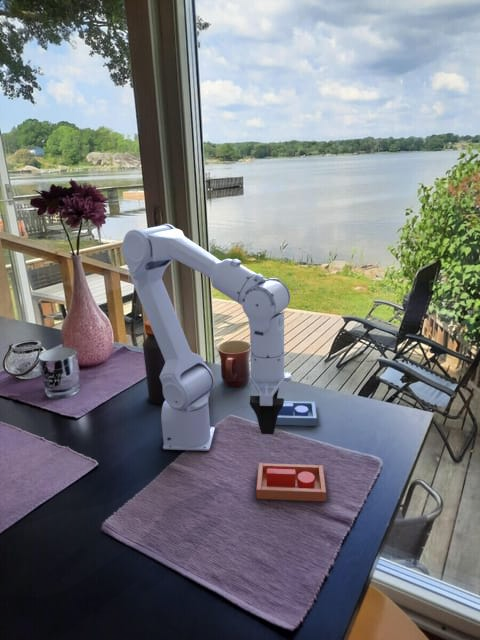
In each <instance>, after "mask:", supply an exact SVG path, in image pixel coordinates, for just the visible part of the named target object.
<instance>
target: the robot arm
mask: <svg viewBox="0 0 480 640" xmlns="http://www.w3.org/2000/svg"><path fill="white" fill-rule="evenodd" d="M120 252H121V254H122V257H123V259H124V261H125V264H126V266H127V269H128V271H129V275H130V279H131V283H132V285H133V287H134V289H135V292H136V294H137V297H138V300H139V302H140V304H141V306H142V310H143V311H144V313H145V316H146V318H147V321H149V323H150V326H151V328H152V331H153V333H154V336H155V338H156V340H157V343H158V345H159V348H160V350H161V353H162V355H163V357H164V360H165V365H164V367H163V370H162V372H161V374H160V380H161V382H162V387H163V395H164V398H165V401H164V403H163V404H162V407H161V413H160V414H161V416H160V419H161V430H162V432H161V433H162V441H163V445H162V449H163V450H168V451H169V450H171V451H200V452H202V451H204V452H208V451H210V449H211V445H212V442H213V438H214V434H215V431H216V427H214V426H211V422H210V421H211V420H210V407H209V406H210V405H209V397H210V396H211V395H210V394H211V393H210V391H211V390H212V389H214V386H215V383H216V382H215V376H214V373H213V371H212V370H211V369H210V367H209V366H208V365H207V364H206V361H205V360H204V357H203V356H201V355H199V354H197V353H194V352H193V351H192V350H191V348H190V345H189V343H188V342H189V341H188V340H187V338H186V335H185V333H184V330H183V328H182V326H181V322H180V320H179V318H178V315H177V313H176V310H175V308H174V305H173V304H172V303H173V302H172V301H171V298H170V295H169V293H168V290H167V289H166V286H165V284H164V283H165V282H164V280H163V276H164V273H165V272H166V269H167V268H168V266H169V265H170V264H171V263H172V261H173V260H175V261H178V262H179V263H181V264H183V265H185V266H187V267H189V268H191V269H193V270H195V271H197V272H198V273H200V274H202V275H204V276H206V277H208V278H209V279H210V283H211V286H212V288H213V289H215V290H217V291H218V292H220V293H221V294H223V295H224V296H226V297H228V298H229V299H230V300H232V301H234V302H236V303H237V304H239V305H241V307H242V310H243V313H244V314H245V315H246V318H247V319H248V327H249V341H250V342H249V344H250V346H251V351H250V376H249V377H250V378H249V381H250V382H251V384H252V385H253V387H254V389H255V390H256V391H257V393H258V395H249V405H250V408H251V409H252V410H253V412H254V414H255V416H256V419H257V422H258V426H259V431H260V433H261V434H262V435H274V434H275V430H276V427H277V425H276V421H277V417H278V414H279V412H280V410H281V409H282V407H283V404H284V401H285V398H284V397H278V395H279V392H280V391H279V390H280V388H281V386H282V385H283V384H284V383H285V382H290V381H291V380H292V373H291V372H286V371H285V310H286V309H287V308H288V306H289V305H290V302H291V293H290V290H289V288H288V286H287V285H286V284H285V283H284V282H283V281H282V280H281V279H280V278H276V277H271V278H265V275H264V274H261V273H256V272H254V271H252V270H250V269H249V268H247V267H246V266H244V265H242V261H241V260H239V259H238V258H232V259H231V258H226V259H225V258H224V259H222V260H220V259H219V258H217V257H216V256H214V255H213V254H212V253H210V252H209V251H207V250H206V249H204V248H203V247H201V246H200V245H198V244H197V243H195V242H194V241H192V240H191V239H189V238H188V237H187V236H185V234H184V231H183V230H181V229H179V228H176V227H175V226H173V225H172V224H170V223H164V224H160V225H156V226H152V227H147V228H140V229H131V230H129V231H127V232H126V233H125V235H124V238H123V241H122V243H121V247H120Z"/></svg>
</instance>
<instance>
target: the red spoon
mask: <svg viewBox="0 0 480 640" xmlns="http://www.w3.org/2000/svg"><path fill="white" fill-rule="evenodd" d="M295 480H296V473H295V469H269V468H267V485H268V486H293V487H295ZM297 485H298V487H299V488H307V489H313V488H314V486H315V476H314V475H313V474H312V473H310V472H301V473H299V474H298V476H297Z"/></svg>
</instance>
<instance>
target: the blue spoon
mask: <svg viewBox="0 0 480 640" xmlns="http://www.w3.org/2000/svg"><path fill="white" fill-rule="evenodd" d="M278 416H293V403H284V404H283V407H282V409H281V410H280V412H279V414H278ZM295 416H308V408H307V407H306V406H297V407H295Z"/></svg>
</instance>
